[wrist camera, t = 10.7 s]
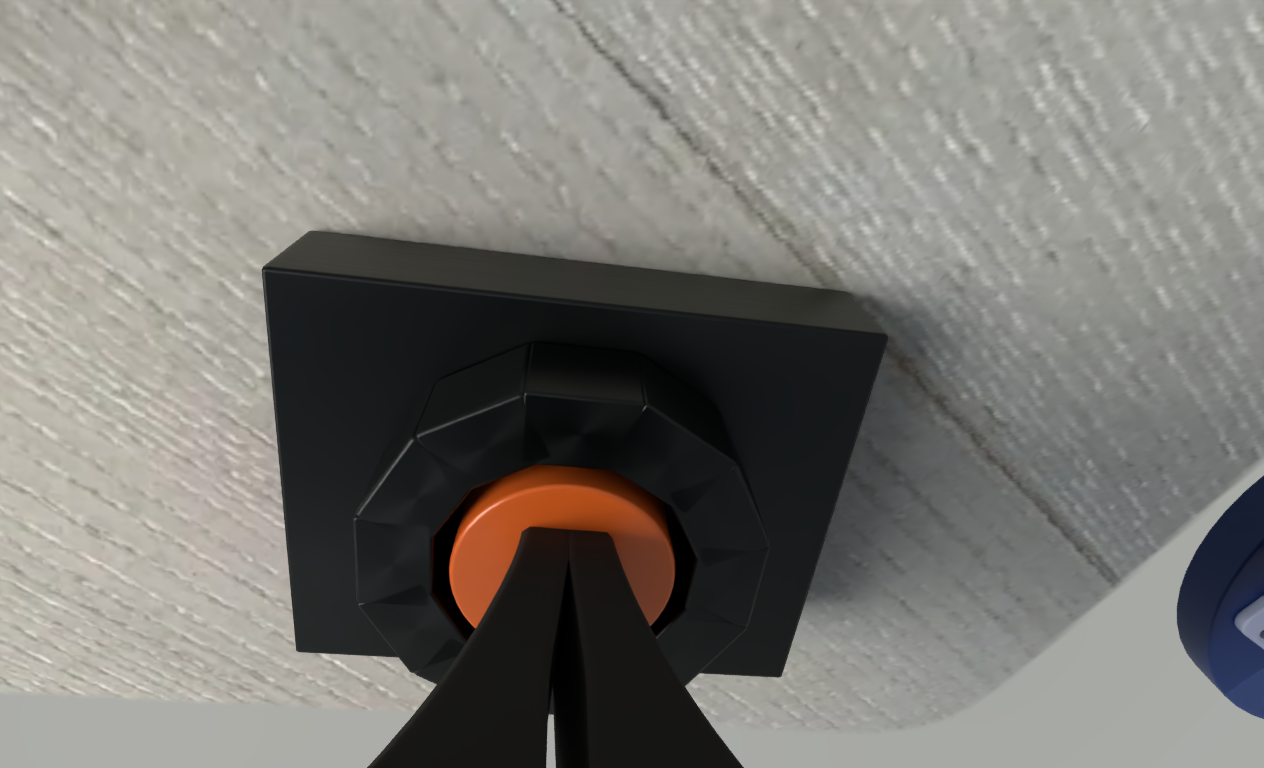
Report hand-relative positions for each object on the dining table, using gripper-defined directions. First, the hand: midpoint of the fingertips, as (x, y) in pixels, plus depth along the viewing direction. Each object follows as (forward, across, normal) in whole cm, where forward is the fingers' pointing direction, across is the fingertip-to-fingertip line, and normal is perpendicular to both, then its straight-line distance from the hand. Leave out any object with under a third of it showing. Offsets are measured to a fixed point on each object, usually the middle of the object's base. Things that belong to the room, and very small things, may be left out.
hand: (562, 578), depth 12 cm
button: (+2, 0, 0) cm, 2 cm away
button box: (+4, 0, 0) cm, 4 cm away
